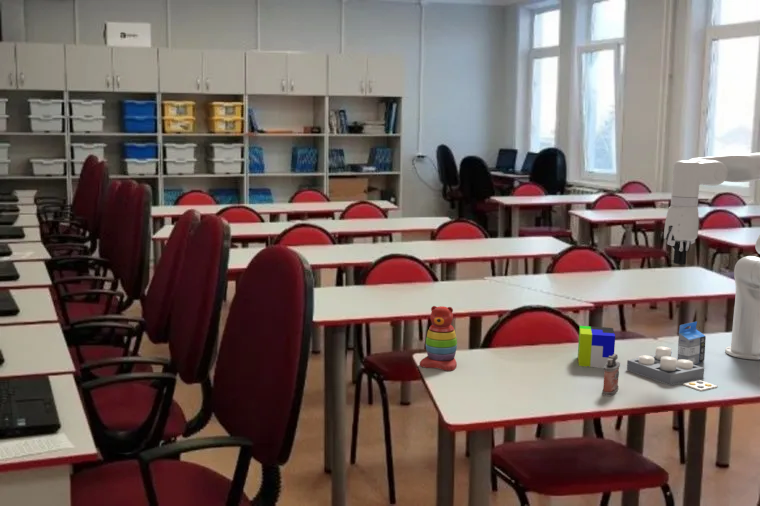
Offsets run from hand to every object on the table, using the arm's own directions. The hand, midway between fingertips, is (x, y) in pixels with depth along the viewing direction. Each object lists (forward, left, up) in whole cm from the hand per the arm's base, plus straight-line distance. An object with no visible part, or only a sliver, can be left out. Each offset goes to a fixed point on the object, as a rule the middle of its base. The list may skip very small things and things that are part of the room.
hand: (679, 263), depth 247 cm
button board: (+10, +6, -31) cm, 33 cm away
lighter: (+36, +10, -31) cm, 49 cm away
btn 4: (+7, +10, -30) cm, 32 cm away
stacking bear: (+64, -32, -31) cm, 78 cm away
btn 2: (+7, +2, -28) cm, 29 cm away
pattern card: (+10, +19, -31) cm, 38 cm away
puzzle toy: (+20, -12, -31) cm, 39 cm away
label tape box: (-6, +2, -31) cm, 32 cm away
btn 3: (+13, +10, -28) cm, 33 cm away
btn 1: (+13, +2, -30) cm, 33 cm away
